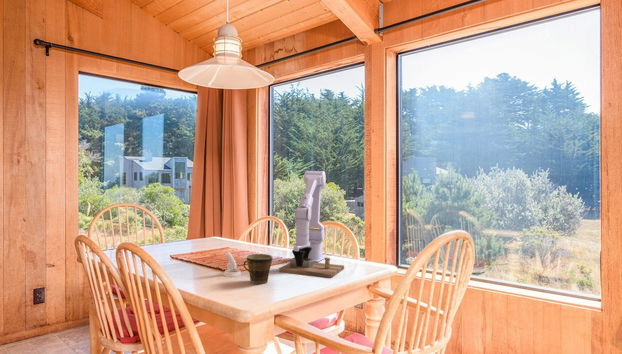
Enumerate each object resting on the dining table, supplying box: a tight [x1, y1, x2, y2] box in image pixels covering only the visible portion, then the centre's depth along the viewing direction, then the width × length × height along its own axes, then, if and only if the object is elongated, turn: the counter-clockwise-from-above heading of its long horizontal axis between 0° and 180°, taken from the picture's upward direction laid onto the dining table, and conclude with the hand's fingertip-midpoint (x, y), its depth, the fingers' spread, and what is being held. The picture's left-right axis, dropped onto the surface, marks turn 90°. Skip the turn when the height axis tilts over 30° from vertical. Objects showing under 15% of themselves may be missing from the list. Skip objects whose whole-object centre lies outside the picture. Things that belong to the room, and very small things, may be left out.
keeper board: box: [278, 256, 345, 279], centre depth 178 cm, size 18×24×6 cm
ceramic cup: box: [243, 253, 273, 285], centre depth 155 cm, size 13×10×10 cm
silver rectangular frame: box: [289, 257, 314, 268], centre depth 180 cm, size 6×9×3 cm, turn 69°
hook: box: [223, 251, 243, 278], centre depth 166 cm, size 8×12×7 cm
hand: (301, 264), depth 180 cm, fingers closed on silver rectangular frame, 6 cm apart
